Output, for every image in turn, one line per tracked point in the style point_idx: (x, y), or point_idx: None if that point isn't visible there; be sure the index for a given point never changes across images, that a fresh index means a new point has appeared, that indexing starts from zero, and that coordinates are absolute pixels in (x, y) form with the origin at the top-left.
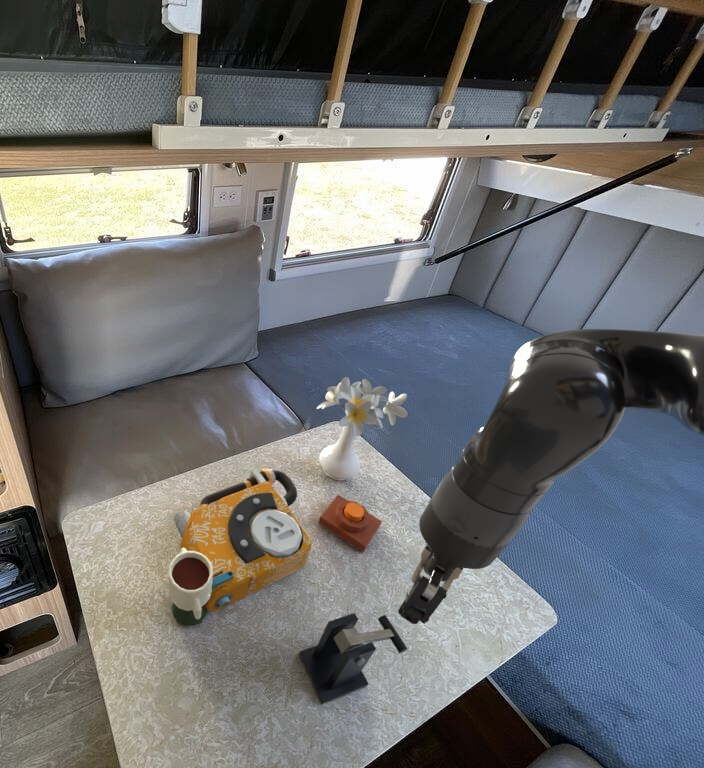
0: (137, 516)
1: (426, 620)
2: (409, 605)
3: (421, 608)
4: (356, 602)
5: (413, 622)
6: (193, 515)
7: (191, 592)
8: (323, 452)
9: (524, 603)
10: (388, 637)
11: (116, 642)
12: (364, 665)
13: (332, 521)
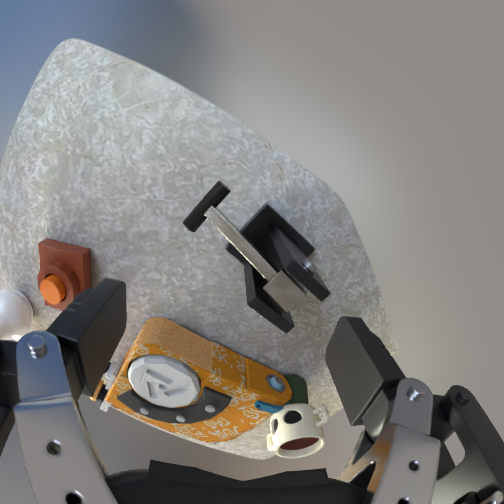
0: (227, 441)
1: (479, 407)
2: (448, 455)
3: (445, 429)
4: (162, 239)
5: (380, 342)
6: (211, 440)
7: (323, 438)
8: (18, 340)
9: (58, 58)
10: (222, 215)
11: (337, 403)
12: (283, 238)
13: None
